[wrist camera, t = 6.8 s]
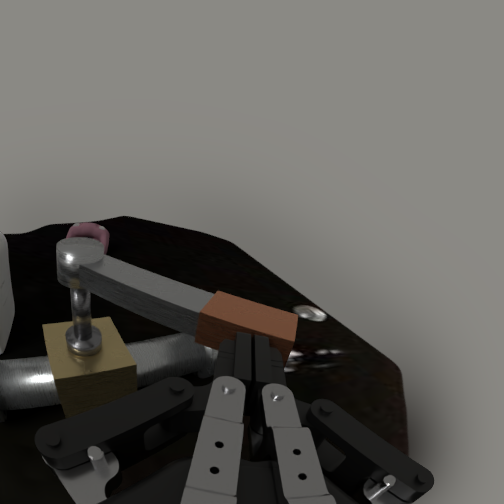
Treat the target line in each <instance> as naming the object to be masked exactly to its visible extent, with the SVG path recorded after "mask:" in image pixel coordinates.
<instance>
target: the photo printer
mask: <svg viewBox="0 0 504 504" xmlns="http://www.w3.org/2000/svg"><path fill="white" fill-rule="evenodd" d="M14 314H15V306H14V299H13V293H12V286H11V278H10V269H9V258H8V245H7V241H6V238H5V236H4V235H3V233H2V232H0V354H2V353H3V352H4V350H5V347H6V344H7V341H8V337H9V334H10V330H11V327H12V323H13V319H14Z"/></svg>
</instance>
